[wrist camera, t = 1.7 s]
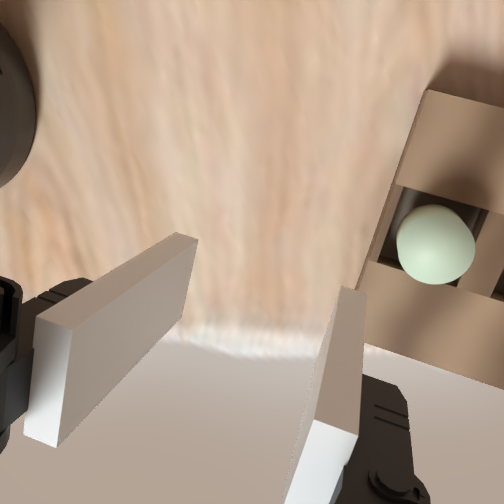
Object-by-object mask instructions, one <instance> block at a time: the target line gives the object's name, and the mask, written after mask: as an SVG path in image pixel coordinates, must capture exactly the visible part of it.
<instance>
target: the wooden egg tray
mask: <svg viewBox="0 0 504 504" xmlns="http://www.w3.org/2000/svg"><path fill="white" fill-rule="evenodd" d="M428 204H436V205H442V206H445V207H447V208H449V209H451V210H453V211H454V212H455V213H456V214H457V215H458V216H459V217H460V218H461V220H462V221H463V222H464V223H465V225H466V226H467V227H468V229H469V230H470V232H471V233H472V235H473V238H474V241H475V255H474V259H473V262H472V263H471V265H470V267H469V268H468V270H467V271H466V272H465V273H464V274H463V275H461V276H460V277H459V278H457V279H455V280H453V281H451V282H448V283H444V284H427V283H423V282H420V281H418V280H416V279H414V278H413V277H411V276H410V275H409V274H408V273H407V272H406V271H405V270H404V269H403V267H402V265H401V263H400V261H399V257H398V250H397V243H396V232H397V228H398V225H399V223H400V222H401V220H402V219H403V217H404V216H405V215H406V214H407V213H408V212H410V211H411V210H413V209H415V208H417V207H419V206H423V205H428ZM355 290H356V291H360V292H363V293H366V294H367V301H366V317H365V334H364V342H365V343H368V344H370V345H373V346H376V347H379V348H382V349H385V350H388V351H391V352H394V353H397V354H400V355H403V356H406V357H409V358H412V359H415V360H418V361H421V362H424V363H426V364H429V365H432V366H435V367H438V368H441V369H444V370H447V371H450V372H453V373H456V374H459V375H462V376H465V377H468V378H471V379H474V380H477V381H480V382H482V383H485V384H488V385H492V386H494V387H498V388H500V389H503V390H504V108H501V107H497V106H493V105H489V104H485V103H481V102H477V101H473V100H469V99H465V98H461V97H457V96H453V95H449V94H445V93H441V92H437V91H433V90H429V89H428V90H426V91H424V92H423V95H422V98H421V101H420V104H419V107H418V110H417V113H416V115H415V118H414V121H413V124H412V127H411V130H410V133H409V136H408V138H407V141H406V144H405V147H404V150H403V153H402V156H401V159H400V161H399V164H398V167H397V170H396V173H395V176H394V179H393V182H392V184H391V187H390V190H389V193H388V196H387V199H386V202H385V205H384V207H383V210H382V213H381V216H380V219H379V222H378V225H377V228H376V230H375V233H374V236H373V239H372V242H371V245H370V248H369V251H368V253H367V256H366V259H365V262H364V265H363V268H362V271H361V274H360V277H359V279H358V282H357V285H356V288H355Z"/></svg>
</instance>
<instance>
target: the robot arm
mask: <svg viewBox="0 0 504 504" xmlns="http://www.w3.org/2000/svg"><path fill="white" fill-rule="evenodd" d="M34 128H35V101H34V93H33V88H32V84H31V80H30V76H29V73H28V70H27V68H26V65H25V63H24V60H23V58H22V56H21V54H20V52H19V50H18V48H17V47H16V45H15V43H14V42H13V40H12V39H11V37H10V36H9V34H8V33H7V32H6V31H5V29H4V28H3V27H2V26H1V25H0V187H2V186H4V185H5V184H6V183H8V182H9V181H10V180H11V179H12V178H13V177H14V176H15V175H16V174H17V172H18V171H19V170H20V168H21V167H22V165H23V163H24V161H25V160H26V157H27V155H28V153H29V150H30V147H31V144H32V140H33V135H34ZM197 244H198V239H195V238H192V237H189V236H186V235H183V234H180V233H177V232H175V233H174V234H172V235H170V236H169V237H167V238H165V239H164V240H162V241H160V242H159V243H157V244H155V245H154V246H152V247H150V248H149V249H147V250H145V251H144V252H142V253H140V254H139V255H137V256H135V257H134V258H132V259H130V260H129V261H127V262H125V263H124V264H122V265H120V266H119V267H117V268H115V269H114V270H112V271H110V272H109V273H107V274H105V275H104V276H102V277H100V278H99V279H97V280H95V281H91V280H88V279H85V278H78V279H74V280H69V281H64V282H62V283H60V284H58V285H56V286H54V287H53V288H51V289H49V291H45V292H43V293H42V294H40V295H38V296H37V298H36V297H34V298H32V299H31V300H29V301H27V302H25V303H23V304H22V297H23V291H22V288H21V286H20V285H19V284H18V283H16V282H15V281H13V280H11V279H8V278H5V277H2V276H0V454H1V452H2V451H3V449H4V448H5V447H6V445H7V442H8V440H9V435H10V425H11V424H12V423H13V422H14V421H15V420H16V419H17V418H19V417H20V416H21V415H22V414H23V413H24V412H26V415H25V424H24V433H23V434H24V435H26V436H29V437H31V438H33V439H36V440H38V441H40V442H43V443H45V444H48V445H50V446H52V447H55V448H57V447H58V446H59V445H60V444H61V443H62V442H63V441H64V440H65V439H66V437H68V436H69V434H70V433H71V432H72V431H73V430H74V429H75V428H76V427H77V426H78V425H79V424H80V423H81V422H82V421H83V420H84V419H85V418H86V417H87V416H88V415H89V413H90V412H91V411H92V410H93V409H94V408H95V407H96V406H97V405H98V404H99V403H100V402H101V401H102V400H103V399H104V398H105V397H106V396H107V395H108V394H109V392H110V391H111V390H112V389H113V388H114V387H115V386H116V385H117V384H118V383H119V382H120V381H121V380H122V379H123V378H124V377H125V376H126V375H127V374H128V373H129V372H130V370H131V369H132V368H133V367H134V366H135V365H136V364H137V363H138V362H139V361H140V360H141V359H142V358H143V357H144V356H145V355H146V354H147V353H148V352H149V350H150V349H151V348H152V347H153V346H154V345H155V344H156V343H157V342H158V341H159V340H160V339H161V338H162V337H163V336H164V335H165V334H166V333H167V332H168V331H169V330H170V329H171V327H172V326H173V325H174V324H175V323H176V322H177V321H178V320H179V319H180V318H181V317H182V312H183V308H184V303H185V299H186V294H187V290H188V285H189V281H190V276H191V271H192V267H193V262H194V258H195V253H196V249H197ZM366 301H367V294H366V293H363V292H360V291H356V290H353V289H350V288H347V287H344V286H341V289H340V292H339V295H338V298H337V301H336V304H335V307H334V310H333V312H332V315H331V318H330V321H329V324H328V327H327V330H326V333H325V336H324V339H323V342H322V345H321V348H320V351H319V354H318V357H317V360H316V363H315V367H314V371H313V375H312V379H311V383H310V387H309V391H308V395H307V399H306V403H305V407H304V411H303V415H302V419H301V424H300V427H299V432H298V435H297V439H296V443H295V448H294V452H293V456H292V460H291V464H290V468H289V472H288V476H287V480H286V484H285V488H284V492H283V496H282V500H281V504H430V496H429V494H428V492H427V490H426V488H425V486H424V484H423V483H422V482H421V481H420V480H419V479H418V478H417V477H416V476H415V475H414V467H413V457H412V447H411V437H410V432H409V429H410V428H409V419H408V407H407V401H406V399H405V398H404V396H403V395H402V394H401V392H400V390H399V389H398V387H397V386H396V385H393V384H390V383H387V382H384V381H381V380H379V379H375V378H373V377H370V376H367V375H364V374H362V368H363V351H364V334H365V317H366Z"/></svg>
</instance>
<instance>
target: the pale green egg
mask: <svg viewBox="0 0 504 504" xmlns="http://www.w3.org/2000/svg"><path fill="white" fill-rule="evenodd" d="M396 243H397V250H398V257H399V261H400V263H401V265H402V267H403V269H404V270H405V271H406V272H407V273H408V274H409V275H410V276H411V277H413V278H414V279H416V280H418V281H420V282H423V283H427V284H444V283H448V282H451V281H453V280H455V279H457V278H459V277H460V276H461V275H463V274H464V273H465V272H466V271H467V270H468V268H469V267H470V265H471V263H472V262H473V259H474V255H475V241H474V238H473V235H472V233H471V232H470V230H469V229H468V227H467V226H466V225H465V223H464V222H463V221H462V220H461V218H460V217H459V216H458V215H457V214H456V213H455V212H454V211H453V210H451V209H449V208H447V207H445V206H442V205H436V204H428V205H423V206H419V207H417V208H415V209H413V210H411V211H410V212H408V213H407V214H406V215H405V216H404V217H403V219H402V220H401V222H400V223H399V225H398V228H397V232H396Z"/></svg>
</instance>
